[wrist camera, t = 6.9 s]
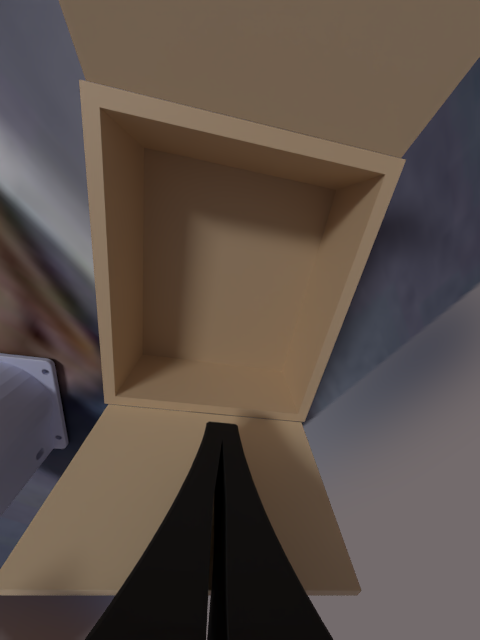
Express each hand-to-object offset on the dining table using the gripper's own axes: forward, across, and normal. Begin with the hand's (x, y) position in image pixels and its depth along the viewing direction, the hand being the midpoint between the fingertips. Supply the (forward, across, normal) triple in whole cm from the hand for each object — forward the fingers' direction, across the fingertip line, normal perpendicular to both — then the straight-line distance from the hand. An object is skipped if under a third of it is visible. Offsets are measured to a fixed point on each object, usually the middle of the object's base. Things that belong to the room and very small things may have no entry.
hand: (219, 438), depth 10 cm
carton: (+8, +1, -5) cm, 10 cm away
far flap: (-1, +1, +2) cm, 2 cm away
